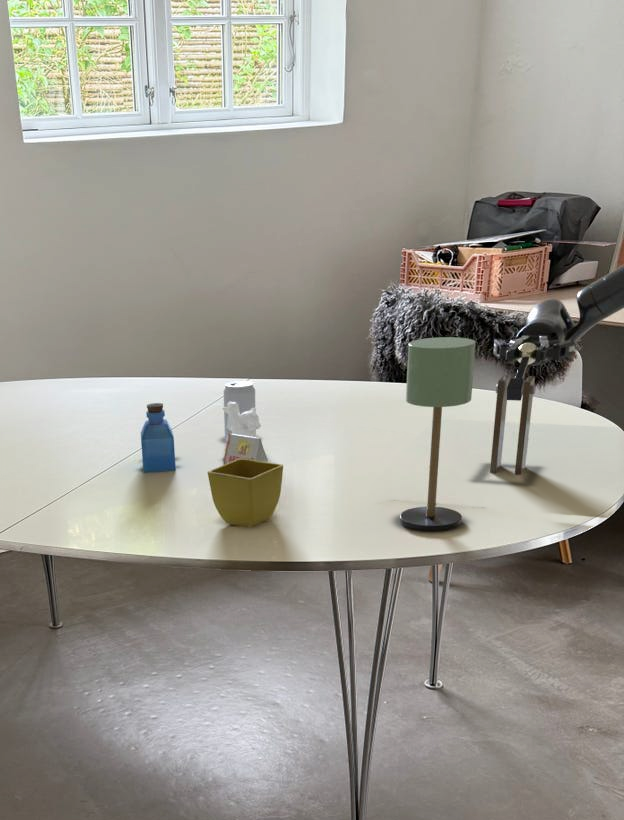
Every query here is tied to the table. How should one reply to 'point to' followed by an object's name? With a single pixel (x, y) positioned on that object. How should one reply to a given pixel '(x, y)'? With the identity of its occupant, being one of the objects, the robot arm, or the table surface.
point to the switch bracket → (500, 423)
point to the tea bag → (244, 449)
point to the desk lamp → (437, 412)
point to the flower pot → (246, 491)
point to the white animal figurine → (241, 420)
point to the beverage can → (239, 399)
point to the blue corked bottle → (157, 441)
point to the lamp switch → (521, 370)
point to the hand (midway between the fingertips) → (524, 356)
